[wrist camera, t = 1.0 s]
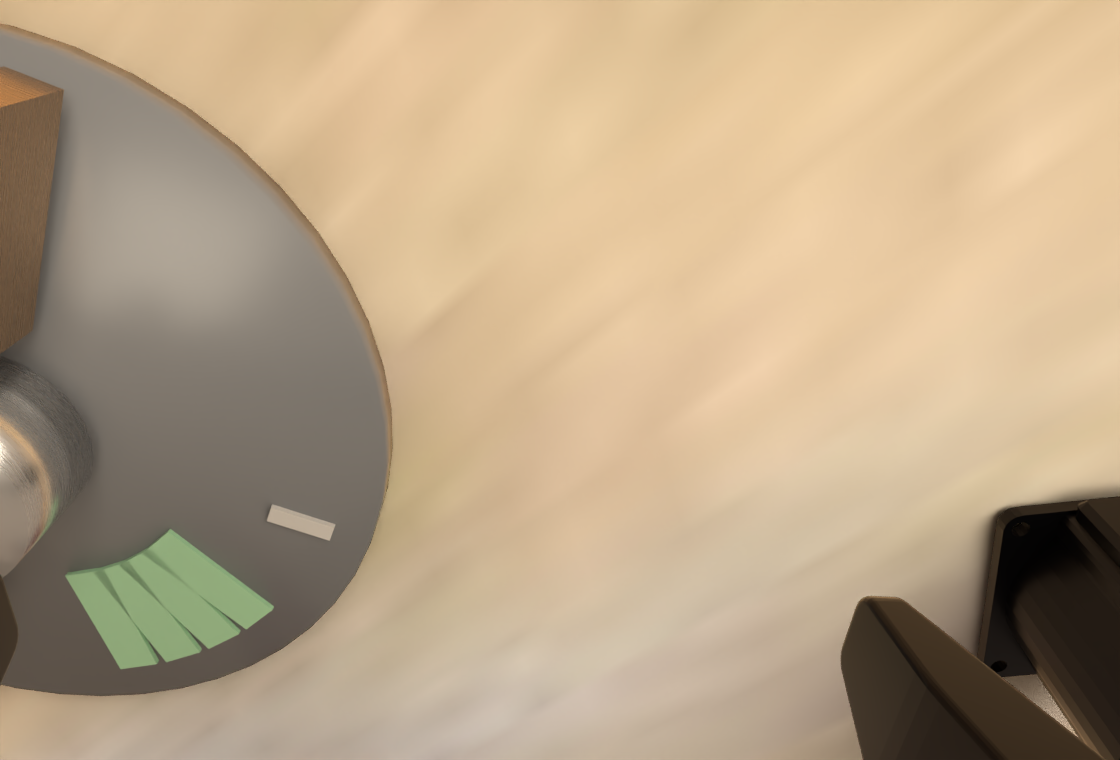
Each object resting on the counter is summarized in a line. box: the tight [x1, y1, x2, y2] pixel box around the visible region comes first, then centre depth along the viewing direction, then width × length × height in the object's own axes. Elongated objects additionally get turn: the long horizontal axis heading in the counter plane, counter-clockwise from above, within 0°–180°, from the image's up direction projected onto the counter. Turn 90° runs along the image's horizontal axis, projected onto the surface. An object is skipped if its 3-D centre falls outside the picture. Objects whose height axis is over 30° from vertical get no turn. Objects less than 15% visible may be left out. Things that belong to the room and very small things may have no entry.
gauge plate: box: [0, 24, 392, 696], centre depth 22 cm, size 20×20×1 cm
